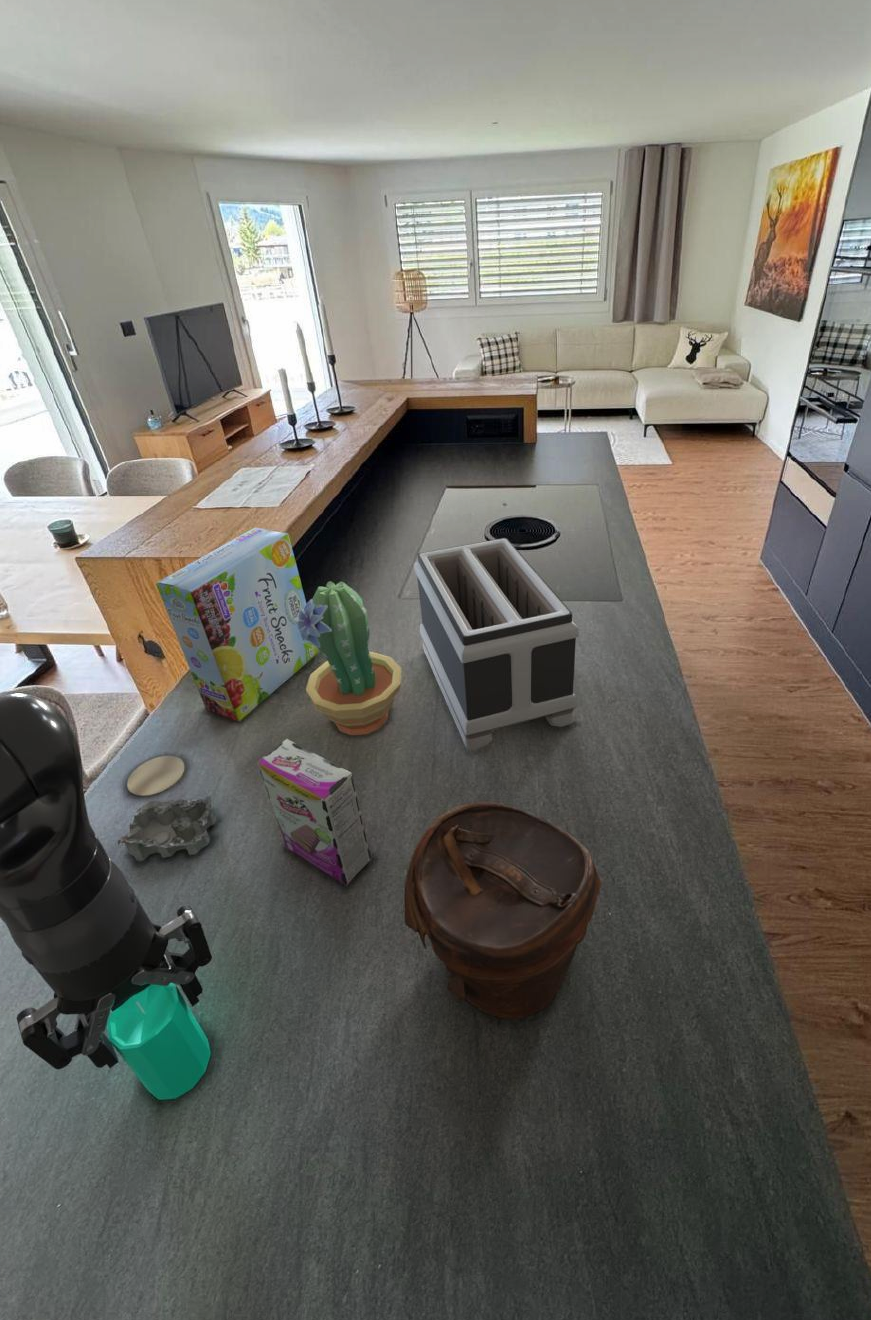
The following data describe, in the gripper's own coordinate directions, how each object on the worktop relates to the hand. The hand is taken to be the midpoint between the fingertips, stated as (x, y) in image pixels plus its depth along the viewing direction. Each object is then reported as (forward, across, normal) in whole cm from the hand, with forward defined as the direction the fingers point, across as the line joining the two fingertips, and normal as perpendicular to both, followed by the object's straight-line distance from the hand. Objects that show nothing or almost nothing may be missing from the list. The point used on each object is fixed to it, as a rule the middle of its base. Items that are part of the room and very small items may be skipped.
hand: (153, 1025), depth 57 cm
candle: (+8, 0, 0) cm, 8 cm away
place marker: (+8, -12, -42) cm, 44 cm away
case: (+8, -30, +15) cm, 35 cm away
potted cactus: (+8, -42, -30) cm, 52 cm away
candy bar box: (+8, -23, -11) cm, 27 cm away
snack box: (+8, -35, -52) cm, 63 cm away
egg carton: (+8, -10, -28) cm, 31 cm away
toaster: (+8, -64, -23) cm, 68 cm away
